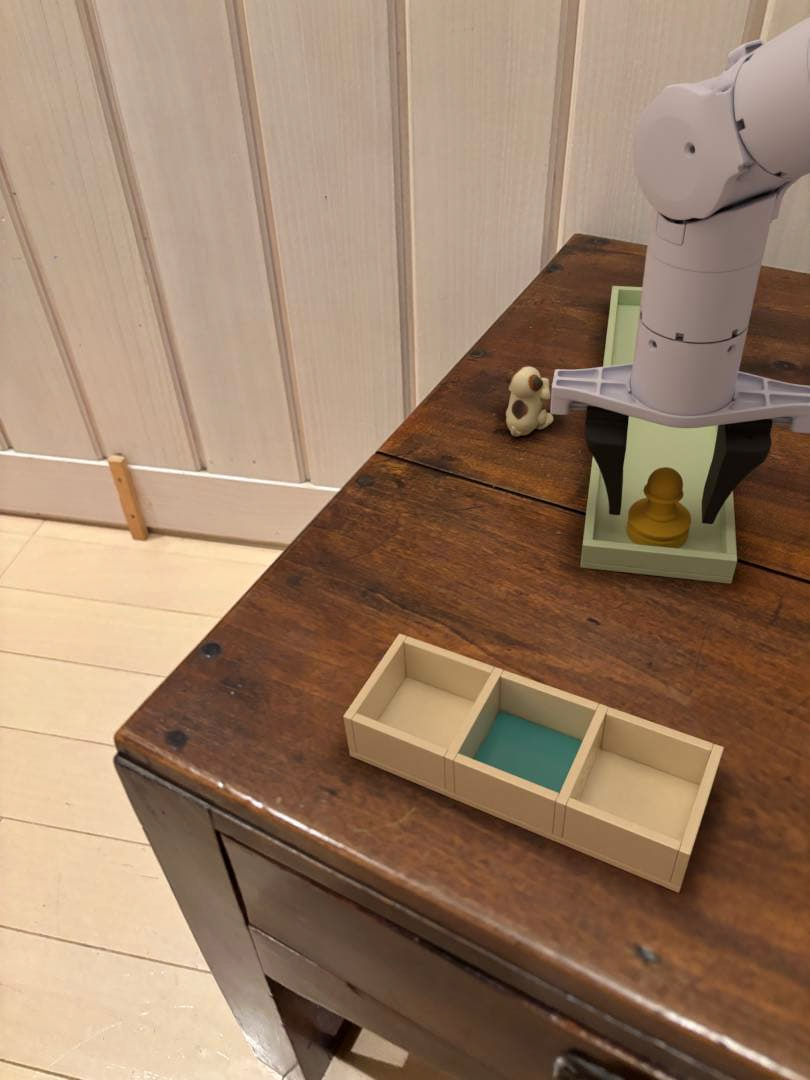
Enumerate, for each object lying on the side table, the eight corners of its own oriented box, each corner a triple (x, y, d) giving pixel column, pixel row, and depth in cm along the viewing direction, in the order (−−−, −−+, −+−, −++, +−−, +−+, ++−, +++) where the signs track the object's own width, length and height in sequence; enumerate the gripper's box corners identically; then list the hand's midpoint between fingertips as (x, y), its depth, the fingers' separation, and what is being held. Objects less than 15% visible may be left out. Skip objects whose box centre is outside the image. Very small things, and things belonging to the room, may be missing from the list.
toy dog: (558, 417, 71) (562, 360, 67) (523, 448, 68) (525, 391, 65) (521, 402, 72) (522, 346, 69) (485, 432, 70) (485, 375, 66)
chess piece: (701, 534, 59) (714, 473, 56) (658, 561, 58) (669, 500, 54) (655, 503, 62) (665, 443, 58) (613, 528, 60) (620, 468, 57)
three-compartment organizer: (712, 787, 46) (724, 746, 44) (679, 893, 42) (690, 855, 40) (403, 673, 53) (399, 632, 51) (349, 756, 49) (342, 716, 47)
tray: (731, 584, 57) (737, 560, 55) (580, 568, 59) (582, 544, 57) (716, 311, 81) (720, 290, 80) (610, 306, 83) (612, 285, 82)
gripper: (829, 288, 51) (776, 480, 60) (563, 275, 54) (552, 461, 63) (845, 355, 46) (785, 553, 55) (551, 337, 49) (541, 529, 58)
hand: (660, 509), depth 59 cm, fingers open, 5 cm apart
